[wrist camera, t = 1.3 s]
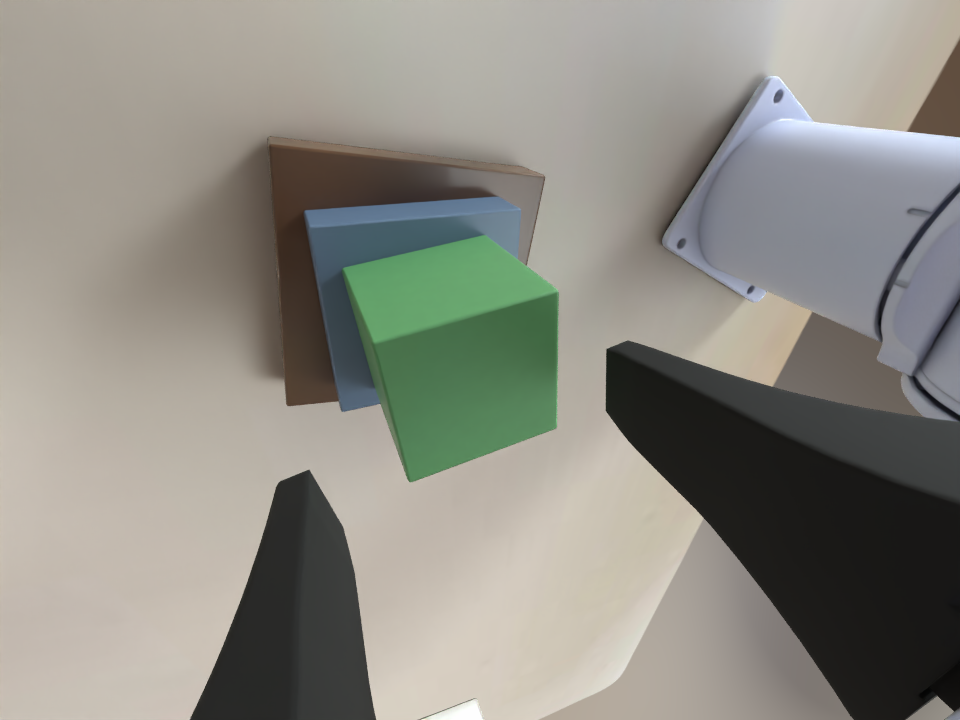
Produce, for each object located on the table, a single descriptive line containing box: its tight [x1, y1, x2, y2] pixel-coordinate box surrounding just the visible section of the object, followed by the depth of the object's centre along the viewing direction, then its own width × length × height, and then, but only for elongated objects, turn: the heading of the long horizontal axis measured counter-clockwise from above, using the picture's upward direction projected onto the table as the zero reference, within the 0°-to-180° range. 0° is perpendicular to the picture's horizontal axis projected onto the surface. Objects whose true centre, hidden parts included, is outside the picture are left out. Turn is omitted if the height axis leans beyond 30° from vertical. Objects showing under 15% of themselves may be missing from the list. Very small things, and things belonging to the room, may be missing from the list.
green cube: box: [342, 235, 559, 482], centre depth 13 cm, size 5×5×5 cm
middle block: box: [304, 197, 521, 412], centre depth 16 cm, size 6×6×2 cm
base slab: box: [268, 136, 545, 406], centre depth 17 cm, size 9×9×2 cm
